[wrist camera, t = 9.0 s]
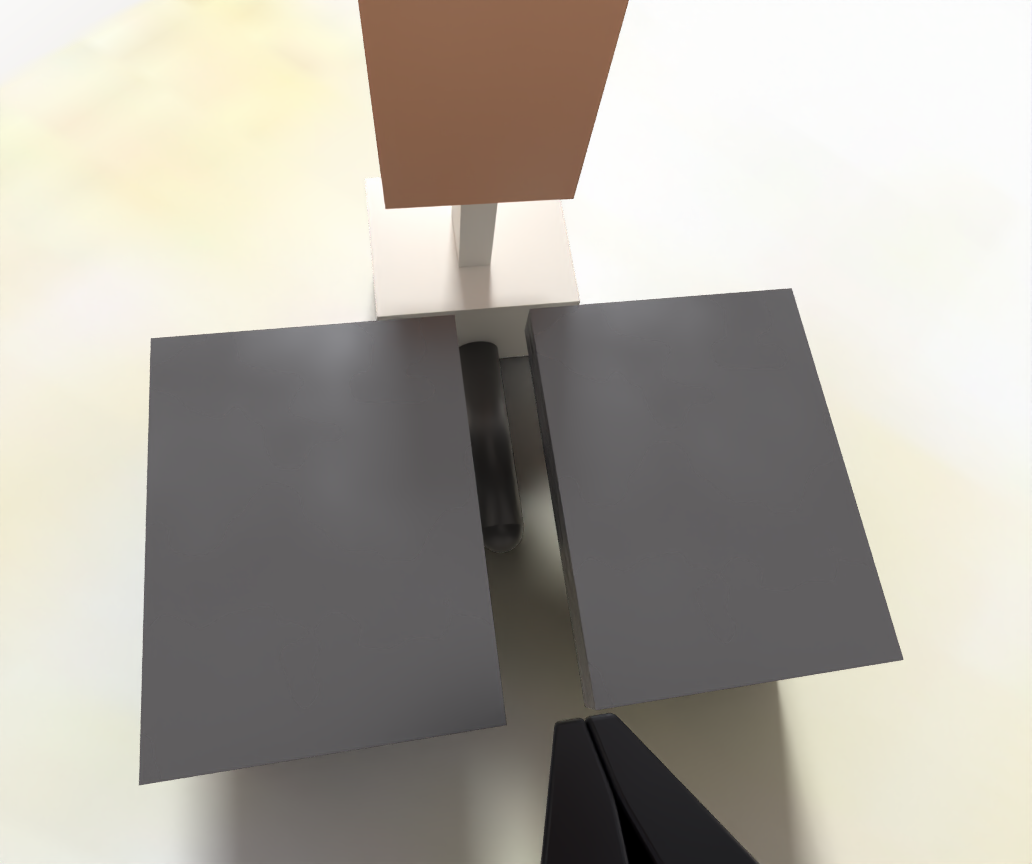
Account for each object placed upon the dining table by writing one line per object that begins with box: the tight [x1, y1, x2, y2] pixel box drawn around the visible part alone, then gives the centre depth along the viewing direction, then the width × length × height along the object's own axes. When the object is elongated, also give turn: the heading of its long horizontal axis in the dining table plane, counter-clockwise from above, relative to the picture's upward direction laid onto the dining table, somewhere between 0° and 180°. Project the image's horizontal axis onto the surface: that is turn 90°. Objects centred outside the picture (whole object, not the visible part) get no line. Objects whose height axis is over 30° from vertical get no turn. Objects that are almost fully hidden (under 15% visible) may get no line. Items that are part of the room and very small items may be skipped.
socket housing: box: [139, 288, 903, 785], centre depth 16 cm, size 8×14×5 cm, turn 98°
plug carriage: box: [358, 0, 629, 553], centre depth 14 cm, size 10×5×11 cm, turn 8°
